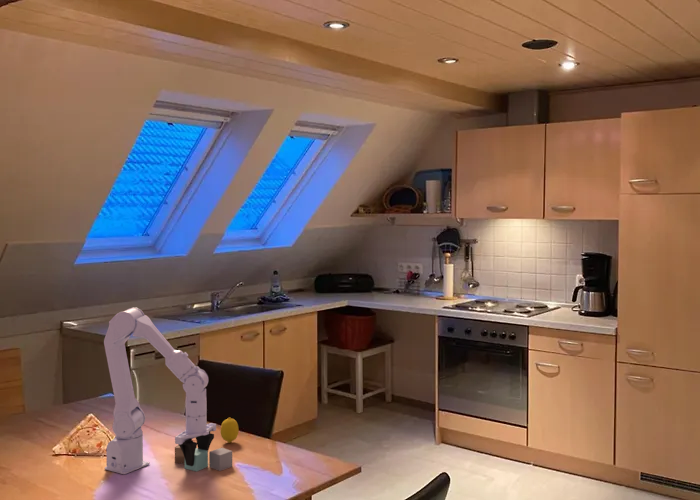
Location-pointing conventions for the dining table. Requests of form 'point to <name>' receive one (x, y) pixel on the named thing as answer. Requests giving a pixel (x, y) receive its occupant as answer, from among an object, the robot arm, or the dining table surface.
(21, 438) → the dining table surface
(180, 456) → the walnut block
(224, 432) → the lemon
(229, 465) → the grey block
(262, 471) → the dining table surface
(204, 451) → the teal block
